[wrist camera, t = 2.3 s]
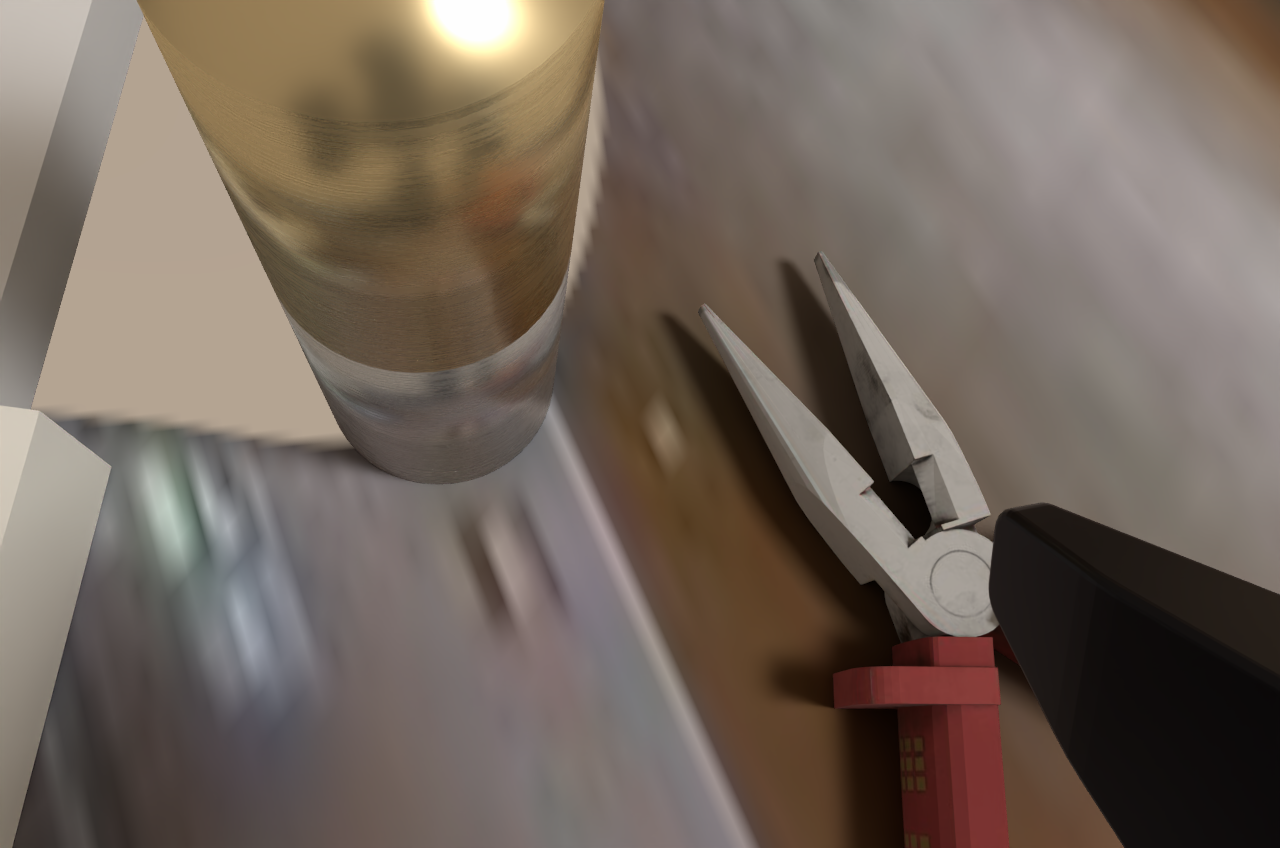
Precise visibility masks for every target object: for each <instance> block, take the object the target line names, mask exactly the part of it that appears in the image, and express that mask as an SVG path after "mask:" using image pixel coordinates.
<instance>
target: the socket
mask: <svg viewBox="0 0 1280 848" xmlns="http://www.w3.org/2000/svg"><path fill="white" fill-rule="evenodd" d="M142 19H143V13H142V11H141V9H140V7H139V5H138V2H137V0H0V848H12V846H13V842H14V839H15V835H16V831H17V827H18V823H19V819H20V816H21V812H22V808H23V804H24V800H25V796H26V793H27V789H28V785H29V781H30V777H31V773H32V770H33V766H34V762H35V758H36V754H37V750H38V747H39V743H40V739H41V735H42V731H43V727H44V724H45V720H46V716H47V712H48V708H49V704H50V701H51V697H52V693H53V689H54V685H55V681H56V678H57V674H58V670H59V666H60V662H61V658H62V655H63V651H64V647H65V643H66V639H67V635H68V632H69V628H70V624H71V620H72V616H73V612H74V609H75V605H76V601H77V597H78V593H79V589H80V585H81V582H82V578H83V574H84V570H85V566H86V562H87V559H88V555H89V551H90V547H91V543H92V539H93V536H94V532H95V528H96V524H97V520H98V516H99V513H100V509H101V505H102V501H103V497H104V493H105V490H106V486H107V482H108V478H109V474H110V470H111V466H110V465H109V464H107V463H106V462H105V461H104V460H102V459H101V458H100V457H98V456H97V455H96V454H95V453H93V452H92V451H91V450H89V449H88V448H87V447H86V446H84V445H83V444H82V443H80V442H79V441H78V440H77V439H75V438H74V437H73V436H71V435H70V434H69V433H68V432H66V431H65V430H64V429H62V428H61V427H60V426H59V425H57V424H56V423H55V422H53V421H52V420H51V419H50V418H48V417H47V416H46V415H44V414H43V413H42V412H41V411H38V410H30V409H31V406H32V402H33V399H34V395H35V392H36V388H37V385H38V381H39V378H40V374H41V371H42V367H43V364H44V360H45V357H46V353H47V350H48V346H49V343H50V339H51V336H52V332H53V329H54V325H55V321H56V318H57V315H58V311H59V308H60V305H61V301H62V297H63V294H64V291H65V287H66V284H67V280H68V277H69V273H70V270H71V266H72V263H73V259H74V256H75V252H76V248H77V245H78V241H79V238H80V235H81V231H82V227H83V224H84V221H85V217H86V214H87V210H88V207H89V203H90V200H91V196H92V193H93V189H94V186H95V182H96V179H97V175H98V172H99V169H100V165H101V161H102V158H103V155H104V151H105V148H106V144H107V140H108V137H109V134H110V130H111V126H112V123H113V120H114V116H115V113H116V109H117V106H118V102H119V99H120V95H121V92H122V88H123V85H124V82H125V78H126V74H127V71H128V67H129V64H130V60H131V57H132V54H133V50H134V47H135V43H136V39H137V36H138V32H139V29H140V26H141V22H142Z"/></svg>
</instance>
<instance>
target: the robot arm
mask: <svg viewBox="0 0 1280 848" xmlns="http://www.w3.org/2000/svg"><path fill="white" fill-rule="evenodd" d="M988 589H989V598H990V603H991V607H992V610H993V612H994V615H995V617H996V619H997V621H998V623H999V625H1000V627H1001V629H1002V631H1003V633H1004V635H1005V637H1006V639H1007V641H1008V643H1009V645H1010V647H1011V649H1012V651H1013V653H1014V655H1015V657H1016V659H1017V661H1018V663H1019V665H1020V667H1021V669H1022V671H1023V673H1024V675H1025V677H1026V679H1027V681H1028V683H1029V685H1030V687H1031V689H1032V691H1033V693H1034V695H1035V697H1036V699H1037V701H1038V703H1039V705H1040V707H1041V709H1042V711H1043V713H1044V715H1045V717H1046V719H1047V721H1048V723H1049V725H1050V727H1051V729H1052V731H1053V733H1054V735H1055V736H1056V738H1057V740H1058V742H1059V744H1060V746H1061V748H1062V749H1063V751H1064V753H1065V755H1066V757H1067V759H1068V760H1069V762H1070V763H1071V765H1072V767H1073V768H1074V770H1075V772H1076V773H1077V775H1078V776H1079V778H1080V780H1081V781H1082V783H1083V784H1084V786H1085V788H1086V789H1087V791H1088V792H1089V794H1090V795H1091V797H1092V798H1093V800H1094V802H1095V803H1096V805H1097V806H1098V808H1099V809H1100V811H1101V812H1102V814H1103V815H1104V817H1105V819H1106V820H1107V822H1108V823H1109V825H1110V826H1111V828H1112V829H1113V831H1114V832H1115V834H1116V836H1117V837H1118V839H1119V840H1120V842H1121V843H1122V845H1123V846H1124V848H1280V594H1277V593H1275V592H1272V591H1270V590H1267V589H1265V588H1262V587H1259V586H1257V585H1254V584H1252V583H1249V582H1247V581H1244V580H1242V579H1239V578H1237V577H1234V576H1232V575H1229V574H1227V573H1224V572H1221V571H1219V570H1216V569H1214V568H1211V567H1209V566H1206V565H1204V564H1201V563H1199V562H1196V561H1194V560H1191V559H1189V558H1186V557H1184V556H1181V555H1178V554H1176V553H1173V552H1171V551H1168V550H1166V549H1163V548H1161V547H1158V546H1156V545H1153V544H1151V543H1148V542H1146V541H1143V540H1140V539H1138V538H1135V537H1133V536H1130V535H1128V534H1125V533H1123V532H1120V531H1118V530H1115V529H1113V528H1110V527H1108V526H1105V525H1103V524H1100V523H1097V522H1095V521H1092V520H1090V519H1087V518H1085V517H1082V516H1080V515H1077V514H1075V513H1072V512H1070V511H1067V510H1065V509H1062V508H1060V507H1057V506H1054V505H1052V504H1049V503H1037V504H1031V505H1026V506H1021V507H1015V508H1010V509H1006V510H1004V511H1003V512H1002V513H1001V514H1000V515H999V516H998V519H997V521H996V525H995V530H994V539H993V548H992V557H991V566H990V575H989V587H988Z"/></svg>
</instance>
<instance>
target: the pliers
mask: <svg viewBox="0 0 1280 848" xmlns="http://www.w3.org/2000/svg"><path fill="white" fill-rule="evenodd" d="M814 262H815V265H816V268H817V271H818V274H819V277H820V280H821V283H822V286H823V289H824V292H825V295H826V298H827V301H828V304H829V307H830V311H831V314H832V317H833V320H834V323H835V326H836V329H837V332H838V335H839V338H840V341H841V344H842V347H843V350H844V353H845V356H846V359H847V362H848V365H849V368H850V372H851V375H852V378H853V381H854V384H855V387H856V390H857V393H858V396H859V399H860V402H861V405H862V408H863V411H864V414H865V417H866V420H867V423H868V426H869V429H870V431H871V434H872V437H873V439H874V442H875V444H876V447H877V450H878V452H879V455H880V458H881V460H882V463H883V465H884V468H885V471H886V473H887V476H888V479H889V481H890V482H891V481H897V480H898V481H906V482H909V483H911V484H914V485H915V486H917V487H918V488H919V489H921V490H922V493H923V496H924V498H925V501H926V504H927V506H928V509H929V512H930V514H931V517H932V521H931V524H930V528H929V529H928V531H927V532H926V534H925V535H924V536H921V537H919V538H917V539H914V538H913V536H912V535H911V534H910V533H909V532H908V531H907V529H906V528H905V527H904V526H903V525H902V524H901V522H900V521H899V520H898V519H897V518H896V517H895V515H894V514H893V513H892V512H891V511H890V510H889V509H888V507H887V506H886V505H885V504H884V503H883V502H882V500H881V499H880V498H879V497H878V496H877V495H876V493H875V492H874V491H873V490H872V489H871V488H870V486H871V485H872V484H873V483H874V481H873V480H872V479H871V477H870V476H869V475H868V474H867V473H866V472H865V471H864V470H863V468H862V467H861V466H860V465H859V464H858V463H857V462H856V461H855V459H854V458H853V457H852V456H851V455H850V454H849V453H848V451H847V450H846V449H845V448H844V447H843V446H842V445H841V444H840V442H839V441H838V440H837V439H836V438H835V437H834V436H833V435H832V433H831V432H830V431H829V430H828V429H827V428H826V427H825V426H824V425H823V424H822V423H821V422H820V421H819V420H818V419H817V418H816V417H815V416H814V415H813V414H812V413H811V412H810V411H809V410H808V409H807V408H806V407H805V406H804V404H803V403H802V402H801V401H800V400H799V399H798V398H797V397H796V396H795V395H794V394H793V393H792V392H791V391H790V390H789V389H788V388H787V387H786V386H785V385H784V384H783V383H782V382H781V381H780V380H779V379H778V378H777V377H776V376H775V375H774V374H773V373H772V372H771V371H770V370H769V369H768V368H767V367H766V366H765V365H764V363H763V362H762V361H761V360H760V359H759V358H758V357H757V356H756V355H755V354H754V353H753V352H752V351H751V350H750V349H749V348H748V347H747V346H746V345H745V344H744V343H743V342H742V341H741V340H740V339H739V338H738V337H737V336H736V335H735V334H734V333H733V332H732V331H731V330H730V329H729V328H728V327H727V326H726V325H725V324H724V322H723V321H722V320H721V319H720V318H719V317H718V316H717V315H716V314H715V313H714V312H713V311H712V310H711V309H710V308H709V307H708V306H707V305H706V304H703V305H702V306H701V307H700V309H699V311H698V313H699V315H700V317H701V319H702V321H703V323H704V325H705V327H706V329H707V331H708V332H709V334H710V336H711V338H712V340H713V342H714V344H715V346H716V348H717V350H718V352H719V354H720V356H721V357H722V359H723V361H724V363H725V365H726V367H727V369H728V371H729V373H730V375H731V377H732V379H733V381H734V382H735V384H736V386H737V388H738V390H739V392H740V394H741V396H742V398H743V400H744V402H745V404H746V405H747V407H748V409H749V411H750V413H751V415H752V417H753V419H754V421H755V423H756V425H757V427H758V429H759V430H760V432H761V434H762V436H763V438H764V440H765V442H766V444H767V446H768V448H769V450H770V452H771V454H772V455H773V457H774V459H775V461H776V463H777V465H778V467H779V469H780V471H781V473H782V475H783V477H784V479H785V480H786V482H787V484H788V486H789V488H790V490H791V492H792V494H793V496H794V498H795V500H796V501H797V503H798V504H799V506H800V507H801V509H802V510H803V512H804V513H805V515H806V516H807V518H808V519H809V520H810V522H811V523H812V524H813V526H814V527H815V528H816V530H817V531H818V532H819V534H820V535H821V536H822V538H823V539H824V540H825V541H826V543H827V544H828V545H829V547H830V548H831V549H832V550H833V552H834V553H835V554H836V556H837V557H838V558H839V559H840V561H841V562H842V563H843V564H844V566H845V567H846V568H847V569H848V570H849V572H850V573H851V574H852V575H853V576H854V577H855V579H856V580H857V581H858V582H859V583H860V584H861V585H862V584H865V583H868V582H871V581H873V580H875V581H876V582H877V583H878V584H879V585H880V586H881V588H882V589H883V590H884V591H885V600H886V605H887V607H888V610H889V613H890V615H891V618H892V621H893V623H894V626H895V629H896V631H897V634H898V637H899V639H900V642H901V643H900V644H898V645H895V646H893V647H892V660H893V666H878V667H860V668H852V669H849V670H845V671H841V672H838V673H834V674H833V688H834V708H838V709H897V715H898V733H899V751H900V769H901V788H902V806H903V824H904V842H905V848H1009V838H1008V825H1007V813H1006V800H1005V787H1004V775H1003V762H1002V749H1001V737H1000V724H999V711H998V705H1001V700H1000V688H999V675H998V668H995V663H994V650H993V649H995V650H996V651H998V652H1000V653H1001V654H1003V655H1004V656H1006V657H1007V658H1009V659H1010V660H1012V661H1013V662H1015V663H1017V664H1018V665H1019V663H1018V661H1017V659H1016V657H1015V655H1014V653H1013V651H1012V649H1011V647H1010V645H1009V643H1008V641H1007V639H1006V637H1005V635H1004V633H1003V631H1002V629H1001V627H1000V625H999V623H998V621H997V619H996V617H995V615H994V612H993V610H992V607H991V603H990V598H989V589H988V587H989V575H990V566H991V557H992V548H993V543H992V542H991V541H990V540H989V539H987V538H986V537H984V536H982V535H980V534H978V533H977V531H976V529H975V526H974V524H976V523H977V522H979V521H981V520H983V519H985V518H986V517H988V516H990V515H991V514H990V511H989V509H988V507H987V504H986V502H985V500H984V497H983V495H982V493H981V490H980V488H979V486H978V484H977V482H976V480H975V478H974V475H973V473H972V471H971V469H970V467H969V465H968V463H967V461H966V459H965V457H964V455H963V453H962V451H961V449H960V447H959V445H958V443H957V441H956V439H955V437H954V435H953V433H952V432H951V430H950V429H949V427H948V425H947V424H946V422H945V421H944V419H943V418H942V416H941V415H940V413H939V412H938V411H937V409H936V408H935V407H934V405H933V404H932V402H931V401H930V400H929V398H928V397H927V395H926V394H925V393H924V391H923V390H922V389H921V387H920V386H919V384H918V383H917V382H916V380H915V379H914V378H913V376H912V375H911V373H910V372H909V371H908V369H907V368H906V366H905V365H904V364H903V362H902V361H901V360H900V358H899V357H898V355H897V354H896V353H895V351H894V350H893V348H892V347H891V346H890V344H889V343H888V342H887V340H886V339H885V337H884V336H883V335H882V333H881V332H880V330H879V329H878V328H877V326H876V325H875V324H874V322H873V321H872V319H871V318H870V317H869V315H868V314H867V312H866V311H865V310H864V308H863V307H862V306H861V304H860V303H859V301H858V300H857V299H856V297H855V296H854V295H853V293H852V292H851V290H850V289H849V288H848V286H847V285H846V283H845V282H844V281H843V279H842V278H841V277H840V275H839V274H838V272H837V271H836V270H835V268H834V267H833V265H832V264H831V263H830V261H829V260H828V259H827V257H826V256H825V254H824V253H823V252H822V251H820V252H818V253H817V255H816V257H815V259H814Z"/></svg>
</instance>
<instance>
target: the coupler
mask: <svg viewBox="0 0 1280 848" xmlns="http://www.w3.org/2000/svg"><path fill="white" fill-rule="evenodd" d="M137 2H138V5H139V7H140V9H141V11H142V13H143V15H144V17H145V19H146V21H147V23H148V26H149V28H150V30H151V32H152V34H153V36H154V38H155V40H156V42H157V44H158V47H159V49H160V51H161V53H162V55H163V57H164V59H165V61H166V63H167V65H168V68H169V70H170V72H171V74H172V76H173V78H174V80H175V82H176V84H177V87H178V89H179V91H180V93H181V95H182V97H183V99H184V101H185V103H186V106H187V107H188V110H189V112H190V114H191V116H192V118H193V120H194V122H195V124H196V127H197V129H198V131H199V133H200V135H201V137H202V139H203V141H204V143H205V145H206V147H207V150H208V152H209V154H210V156H211V158H212V160H213V162H214V164H215V167H216V169H217V171H218V173H219V175H220V177H221V179H222V181H223V183H224V185H225V188H226V190H227V191H228V194H229V196H230V198H231V200H232V202H233V204H234V207H235V209H236V211H237V213H238V215H239V217H240V219H241V221H242V223H243V225H244V227H245V230H246V231H247V234H248V236H249V238H250V240H251V242H252V244H253V247H254V249H255V251H256V253H257V255H258V257H259V259H260V261H261V263H262V266H263V268H264V270H265V272H266V274H267V276H268V278H269V280H270V282H271V284H272V287H273V288H274V291H275V293H276V295H277V297H278V299H279V301H280V303H281V305H282V307H283V310H284V312H285V314H286V316H287V318H288V320H289V322H290V324H291V326H292V329H293V331H294V333H295V335H296V337H297V339H298V341H299V343H300V345H301V348H302V349H303V352H304V354H305V356H306V358H307V360H308V362H309V364H310V367H311V369H312V371H313V373H314V375H315V377H316V379H317V381H318V383H319V385H320V388H321V390H322V392H323V394H324V396H325V398H326V400H327V402H328V404H329V406H330V409H331V411H332V413H333V415H334V417H335V419H336V421H337V423H338V425H339V427H340V429H341V431H342V432H343V434H344V435H345V437H346V438H347V440H348V441H349V442H350V443H351V445H352V446H353V447H354V448H355V449H356V450H357V451H358V452H359V453H360V454H361V455H362V456H363V457H365V458H366V459H367V460H368V461H369V462H371V463H372V464H374V465H375V466H377V467H378V468H380V469H382V470H384V471H386V472H388V473H390V474H392V475H394V476H397V477H400V478H403V479H406V480H410V481H415V482H419V483H427V484H453V483H459V482H464V481H469V480H472V479H475V478H479V477H482V476H484V475H486V474H489V473H491V472H493V471H495V470H497V469H499V468H500V467H502V466H503V465H505V464H507V463H508V462H510V461H511V460H512V459H513V458H514V457H516V456H517V455H518V454H519V453H520V452H521V451H522V450H523V449H524V448H525V447H526V446H527V445H528V444H529V443H530V442H531V440H532V439H533V437H534V436H535V435H536V433H537V432H538V430H539V428H540V427H541V425H542V423H543V421H544V419H545V417H546V414H547V411H548V408H549V406H550V401H551V397H552V392H553V385H554V377H555V370H556V362H557V355H558V347H559V340H560V332H561V324H562V317H563V309H564V302H565V294H566V287H567V279H568V271H569V264H570V256H571V249H572V241H573V233H574V226H575V218H576V211H577V203H578V196H579V188H580V180H581V173H582V165H583V157H584V150H585V143H586V135H587V128H588V119H589V113H590V105H591V97H592V90H593V82H594V75H595V67H596V60H597V52H598V44H599V37H600V29H601V22H602V14H603V7H604V0H137Z"/></svg>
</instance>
